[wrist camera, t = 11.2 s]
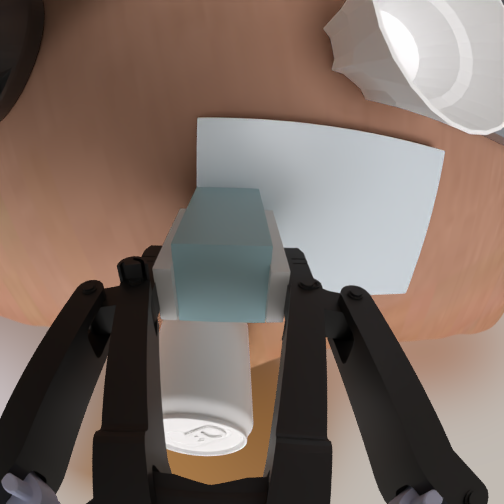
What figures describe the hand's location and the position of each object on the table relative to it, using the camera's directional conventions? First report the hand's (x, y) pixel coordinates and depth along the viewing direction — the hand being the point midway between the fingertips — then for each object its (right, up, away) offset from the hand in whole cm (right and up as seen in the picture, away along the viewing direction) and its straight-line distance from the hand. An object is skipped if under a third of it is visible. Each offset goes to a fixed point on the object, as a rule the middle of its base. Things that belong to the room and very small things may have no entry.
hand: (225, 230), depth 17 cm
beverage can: (-3, -8, +9) cm, 13 cm away
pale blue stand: (+7, +1, +3) cm, 8 cm away
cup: (+11, +13, -2) cm, 17 cm away
